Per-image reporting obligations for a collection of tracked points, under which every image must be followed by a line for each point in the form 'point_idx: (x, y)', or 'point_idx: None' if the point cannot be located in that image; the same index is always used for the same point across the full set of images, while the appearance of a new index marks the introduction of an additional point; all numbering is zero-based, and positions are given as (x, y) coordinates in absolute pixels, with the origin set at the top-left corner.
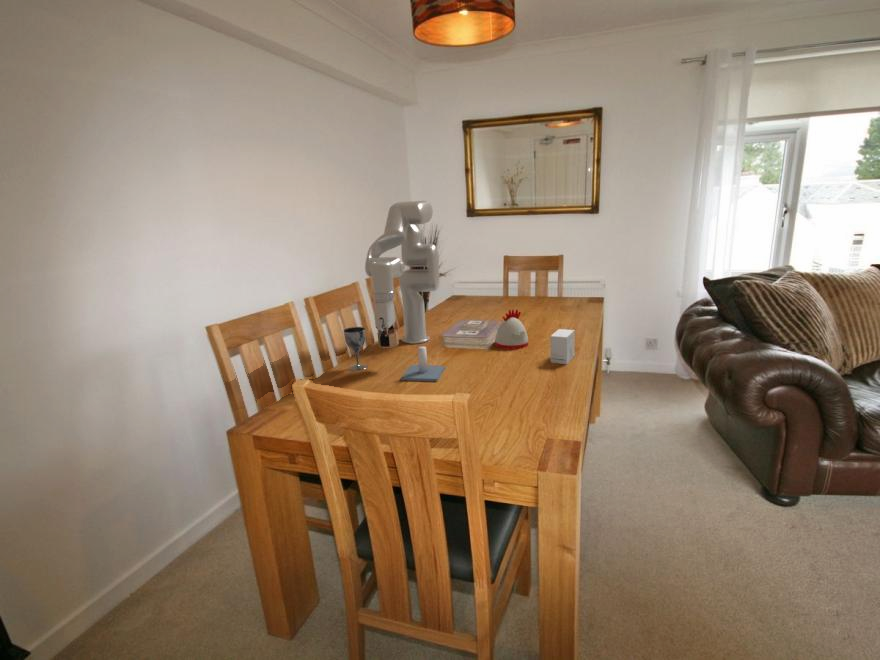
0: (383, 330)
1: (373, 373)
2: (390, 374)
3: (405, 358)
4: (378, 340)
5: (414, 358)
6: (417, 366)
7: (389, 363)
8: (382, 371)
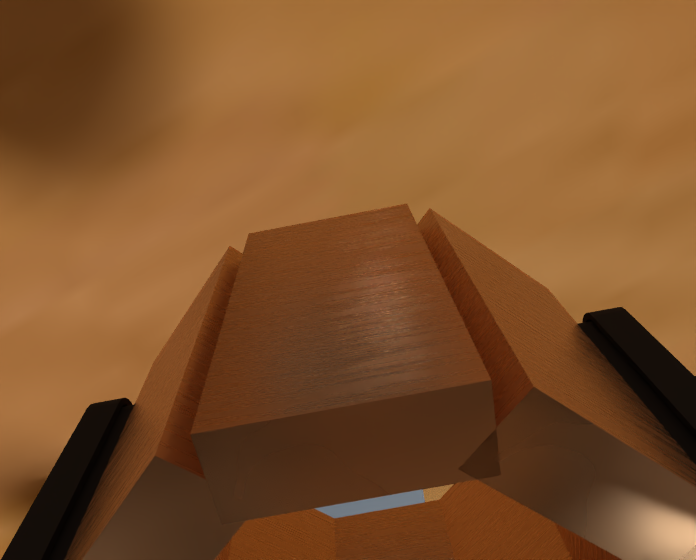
0: (536, 506)
1: (101, 118)
2: (156, 325)
3: (685, 232)
4: (197, 324)
5: (688, 325)
6: (387, 507)
7: (490, 130)
8: (206, 192)
